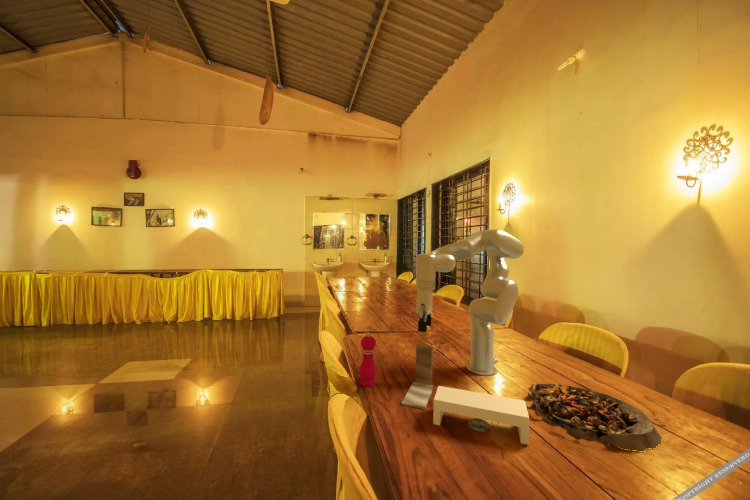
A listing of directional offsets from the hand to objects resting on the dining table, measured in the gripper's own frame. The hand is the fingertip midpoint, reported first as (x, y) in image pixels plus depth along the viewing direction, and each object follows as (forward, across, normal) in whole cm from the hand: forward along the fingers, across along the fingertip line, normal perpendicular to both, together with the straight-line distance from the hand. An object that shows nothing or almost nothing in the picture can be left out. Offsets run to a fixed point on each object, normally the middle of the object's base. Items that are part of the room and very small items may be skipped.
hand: (424, 328), depth 118 cm
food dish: (+23, +2, +54) cm, 58 cm away
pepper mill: (+22, +8, -21) cm, 31 cm away
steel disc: (+22, +22, +21) cm, 38 cm away
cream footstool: (+22, +21, +21) cm, 37 cm away
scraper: (+22, +8, 0) cm, 24 cm away
